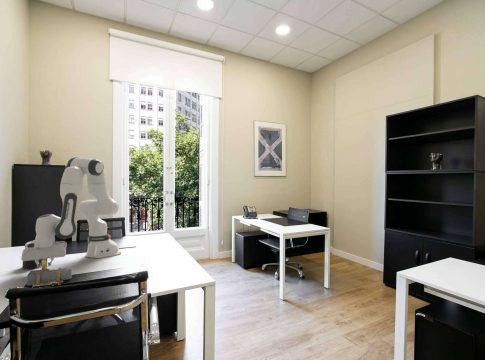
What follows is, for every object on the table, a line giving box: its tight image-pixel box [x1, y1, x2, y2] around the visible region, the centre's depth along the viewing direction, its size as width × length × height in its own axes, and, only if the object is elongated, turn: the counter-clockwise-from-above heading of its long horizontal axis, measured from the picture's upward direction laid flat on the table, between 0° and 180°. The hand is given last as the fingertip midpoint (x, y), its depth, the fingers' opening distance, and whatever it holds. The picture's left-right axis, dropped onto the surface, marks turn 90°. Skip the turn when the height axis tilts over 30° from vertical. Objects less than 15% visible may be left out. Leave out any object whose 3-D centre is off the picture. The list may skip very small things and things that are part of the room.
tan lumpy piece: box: [29, 268, 50, 272], centre depth 132 cm, size 8×7×4 cm
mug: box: [22, 259, 42, 270], centre depth 151 cm, size 9×12×9 cm
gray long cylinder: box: [26, 267, 73, 286], centre depth 128 cm, size 18×5×5 cm, turn 121°
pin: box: [40, 259, 48, 270], centre depth 144 cm, size 3×3×8 cm
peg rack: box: [32, 267, 64, 287], centre depth 128 cm, size 12×8×6 cm, turn 121°
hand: (44, 266), depth 144 cm, fingers open, 3 cm apart
